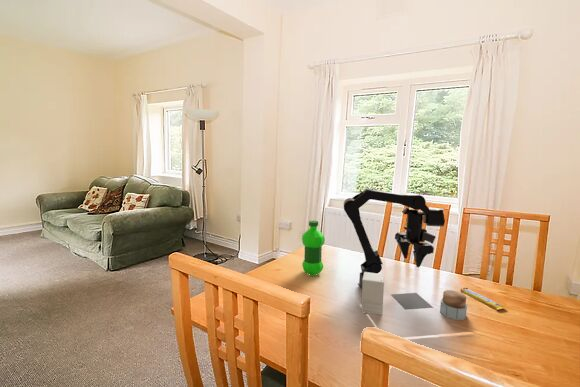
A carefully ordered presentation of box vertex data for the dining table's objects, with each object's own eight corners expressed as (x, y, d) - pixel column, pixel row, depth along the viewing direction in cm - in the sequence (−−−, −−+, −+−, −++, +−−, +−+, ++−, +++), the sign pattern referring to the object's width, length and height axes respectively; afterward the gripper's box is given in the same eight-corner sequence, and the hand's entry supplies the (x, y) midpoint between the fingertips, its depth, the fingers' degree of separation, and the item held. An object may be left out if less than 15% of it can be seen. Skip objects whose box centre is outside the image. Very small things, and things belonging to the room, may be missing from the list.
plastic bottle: (297, 274, 133) (298, 222, 129) (308, 267, 142) (309, 217, 138) (317, 280, 128) (318, 225, 124) (326, 271, 137) (328, 220, 133)
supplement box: (382, 306, 107) (384, 273, 105) (382, 316, 100) (384, 282, 98) (362, 302, 109) (364, 271, 107) (360, 312, 102) (362, 279, 100)
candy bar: (458, 291, 119) (458, 287, 119) (466, 290, 121) (466, 286, 120) (498, 313, 104) (499, 308, 103) (507, 311, 105) (507, 306, 105)
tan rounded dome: (451, 309, 97) (452, 300, 96) (438, 298, 104) (438, 290, 103) (470, 307, 98) (471, 299, 97) (455, 297, 105) (456, 289, 104)
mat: (405, 310, 104) (405, 309, 104) (390, 295, 114) (390, 294, 114) (433, 308, 105) (433, 307, 105) (416, 294, 116) (416, 292, 116)
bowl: (450, 322, 97) (451, 309, 96) (435, 309, 105) (436, 298, 104) (471, 320, 98) (472, 308, 97) (455, 308, 106) (456, 296, 105)
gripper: (448, 231, 106) (445, 271, 108) (419, 219, 124) (416, 253, 127) (420, 231, 104) (417, 272, 107) (395, 219, 123) (393, 254, 125)
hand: (411, 262), depth 116 cm, fingers open, 9 cm apart
